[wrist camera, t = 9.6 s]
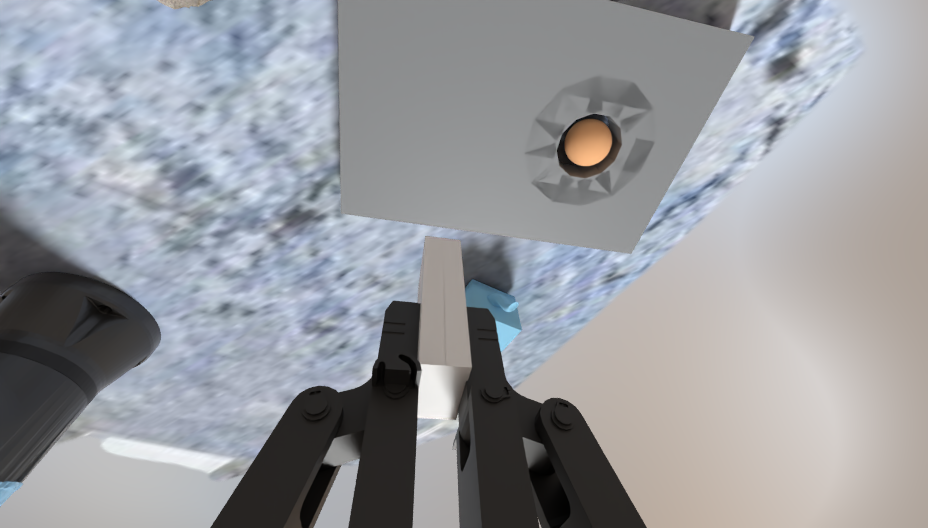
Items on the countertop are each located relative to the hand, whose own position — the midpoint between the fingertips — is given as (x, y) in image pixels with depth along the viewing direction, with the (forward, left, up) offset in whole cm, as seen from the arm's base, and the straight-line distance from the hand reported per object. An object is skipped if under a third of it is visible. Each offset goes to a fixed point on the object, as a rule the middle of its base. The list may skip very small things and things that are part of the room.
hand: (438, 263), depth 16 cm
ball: (+13, +1, -19) cm, 23 cm away
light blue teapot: (+8, -20, -21) cm, 30 cm away
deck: (+7, +1, -21) cm, 22 cm away
